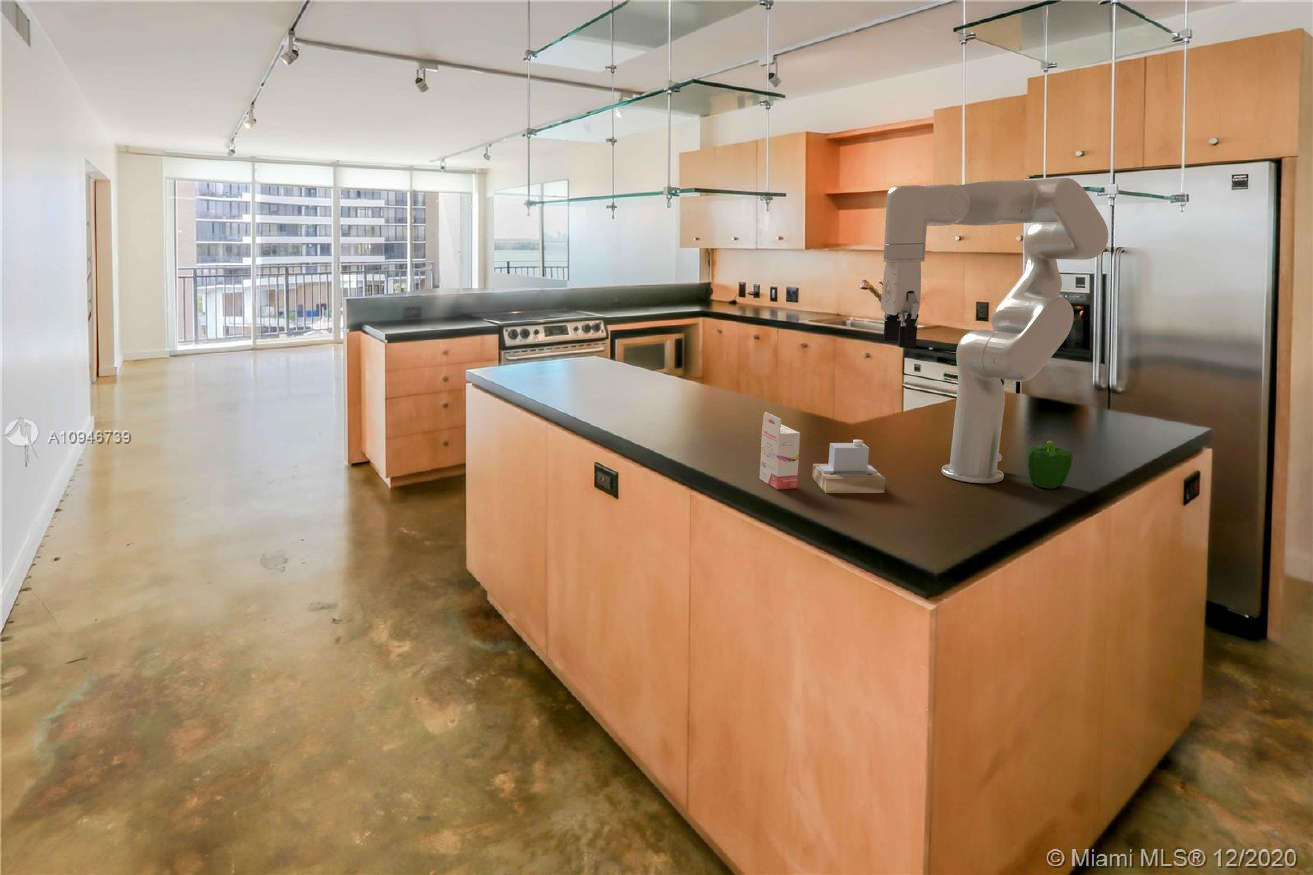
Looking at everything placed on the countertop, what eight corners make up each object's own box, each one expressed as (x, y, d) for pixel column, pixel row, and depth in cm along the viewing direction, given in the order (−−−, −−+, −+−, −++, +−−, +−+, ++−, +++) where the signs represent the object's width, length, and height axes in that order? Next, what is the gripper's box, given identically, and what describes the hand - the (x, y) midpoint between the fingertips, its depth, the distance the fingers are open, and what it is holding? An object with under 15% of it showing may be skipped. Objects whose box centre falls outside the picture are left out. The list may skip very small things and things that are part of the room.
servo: (817, 482, 165) (820, 438, 163) (869, 482, 166) (872, 438, 163) (822, 487, 161) (825, 443, 159) (875, 487, 162) (879, 443, 159)
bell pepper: (1037, 477, 170) (1043, 433, 168) (1075, 487, 164) (1081, 441, 161) (1015, 483, 166) (1021, 437, 164) (1052, 493, 159) (1059, 446, 157)
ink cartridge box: (798, 488, 160) (802, 418, 157) (776, 490, 159) (780, 419, 155) (779, 477, 168) (783, 409, 165) (758, 478, 167) (761, 410, 163)
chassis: (812, 477, 168) (812, 463, 168) (867, 477, 169) (868, 463, 168) (825, 492, 158) (826, 478, 157) (884, 492, 158) (885, 478, 157)
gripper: (872, 253, 157) (868, 338, 162) (898, 255, 141) (893, 350, 145) (909, 252, 157) (904, 337, 162) (940, 254, 141) (933, 349, 145)
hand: (899, 343), depth 153 cm, fingers open, 9 cm apart
